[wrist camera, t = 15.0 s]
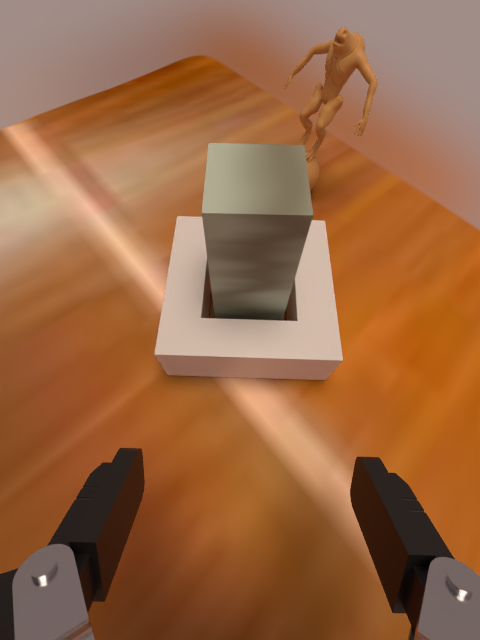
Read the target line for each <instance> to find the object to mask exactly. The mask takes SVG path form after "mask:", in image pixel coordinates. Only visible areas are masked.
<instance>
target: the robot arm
mask: <svg viewBox="0 0 480 640" xmlns="http://www.w3.org/2000/svg"><path fill="white" fill-rule="evenodd" d="M143 492H144V468H143V455H142V450H141V449H139V448H120V449H119V450H118V452H117V454H116V455H115V457H114V459H113V461H112V463H104V462H103V463H102V464H101V465H100V466H99V467H98V468H96V469H95V470H94V471H93V472H92V473H91V474H90V476H89V477H88V479H87V481H86V482H85V484H84V486H83V489H81V491H80V492H79V494H78V496H77V498H76V500H75V501H74V502H73V504H72V506H71V507H70V509H69V511H68V512H67V514H66V516H65V517H64V519H63V521H62V522H61V524H60V526H59V527H58V529H57V531H56V532H55V534H54V536H53V537H52V539H51V541H50V542H49V544H48V545H47V546H46V547H44V548H41V549H40V550H38V551H36V552H35V553H33V554H32V555H31V556H29V557H28V558H27V559H26V560H25V561H24V562H23V563H22V565H21V566H20V567H19V568H18V569H15V570H12V571H9V572H6V573H2V574H0V640H95V639H94V635H93V631H92V627H91V624H90V622H89V618H88V612H89V609H90V607H91V604H92V601H99V602H105V599H106V597H107V594H108V591H109V588H110V586H111V583H112V580H113V577H114V575H115V572H116V569H117V566H118V563H119V561H120V558H121V555H122V552H123V550H124V547H125V544H126V541H127V539H128V536H129V533H130V530H131V528H132V525H133V522H134V519H135V517H136V514H137V511H138V508H139V506H140V503H141V500H142V497H143ZM350 496H351V503H352V507H353V510H354V512H355V515H356V518H357V520H358V523H359V526H360V528H361V531H362V533H363V536H364V539H365V541H366V544H367V547H368V549H369V552H370V555H371V557H372V560H373V562H374V565H375V568H376V570H377V573H378V576H379V578H380V581H381V583H382V586H383V589H384V591H385V594H386V597H387V599H388V602H389V605H390V607H391V610H392V612H393V613H406V614H407V616H408V619H409V621H410V623H411V628H410V631H409V635H408V640H480V577H479V576H478V575H477V574H476V573H475V572H474V571H473V570H472V569H470V568H469V567H467V566H466V565H464V564H463V563H461V562H459V561H457V560H455V559H454V557H453V556H452V554H451V553H450V551H449V549H448V548H447V546H446V545H445V543H444V541H443V540H442V538H441V537H440V535H439V533H438V532H437V530H436V529H435V527H434V525H433V524H432V522H431V521H430V519H429V517H428V516H427V514H426V513H424V509H423V508H422V506H421V504H420V503H419V501H417V498H416V496H415V495H414V493H413V492H412V490H411V488H410V487H409V485H408V484H407V483H406V482H405V481H403V480H402V479H401V478H400V477H399V476H398V475H397V474H396V473H388V471H387V469H386V468H385V466H384V464H383V462H382V461H381V459H380V458H378V457H357V458H356V461H355V466H354V472H353V477H352V483H351V489H350Z"/></svg>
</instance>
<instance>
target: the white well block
mask: <svg viewBox="0 0 480 640" xmlns="http://www.w3.org/2000/svg"><path fill="white" fill-rule="evenodd" d="M210 295H211V283H210V275H209V267H208V259H207V251H206V243H205V235H204V227H203V219H202V217H186V216H177V222H176V228H175V234H174V240H173V246H172V252H171V258H170V264H169V270H168V276H167V282H166V288H165V294H164V300H163V306H162V312H161V318H160V324H159V330H158V336H157V342H156V348H155V356H156V358H157V359H158V361H159V362H160V364H161V365H162V367H163V369H164V370H165V372H166V373H167V375H176V376H207V377H238V378H269V379H300V380H326V379H327V378H328V377H329V376H330V375H331V373H332V372H333V371H334V370H335V369H336V368H337V367H338V365H339V364H340V363H341V362H342V361H343V358H342V350H341V342H340V334H339V327H338V319H337V311H336V303H335V296H334V288H333V280H332V272H331V265H330V257H329V249H328V241H327V234H326V226H325V221H316V220H312V221H311V225H310V228H309V231H308V235H307V238H306V242H305V245H304V249H303V252H302V255H301V259H300V262H299V266H298V269H297V273H296V276H295V279H294V283H293V286H292V290H291V293H290V297H289V300H288V303H287V307H286V311H287V321H280V320H248V319H216V318H209V307H210Z"/></svg>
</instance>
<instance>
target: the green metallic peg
mask: <svg viewBox="0 0 480 640" xmlns="http://www.w3.org/2000/svg"><path fill="white" fill-rule="evenodd" d="M312 218H313V210H312V202H311V194H310V186H309V178H308V170H307V162H306V154H305V146H304V145H273V144H229V143H209V145H208V155H207V165H206V175H205V185H204V195H203V205H202V219H203V227H204V235H205V243H206V251H207V259H208V267H209V275H210V283H211V291H212V299H213V307H214V315H215V318H216V319H248V320H280V321H283V317H284V314H285V310H286V307H287V303H288V300H289V297H290V293H291V290H292V286H293V283H294V279H295V276H296V273H297V269H298V266H299V262H300V259H301V255H302V252H303V249H304V245H305V242H306V238H307V235H308V231H309V228H310V225H311V221H312Z"/></svg>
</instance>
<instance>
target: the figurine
mask: <svg viewBox="0 0 480 640" xmlns="http://www.w3.org/2000/svg"><path fill="white" fill-rule="evenodd" d="M364 50H365V43H364V39H363V38H362V36H361V35H360V34H358V33H350V32H349V30H348V29H347V28H346V27H341V28H340V30H339V31H338V32H337V33H336V36H335V39H333V40H331V41H329V42H326V43H321V44H318V45H316V46H314V47H312V48H311V49H310V51H309V52H308V54H307V55H306V56H305V58H304V59H303V60H302V61H301V62H300V63H299V64H298V65H297V66H296V67H295V69H294V70H293V71H292V73H291V74H290V76H289V78H288V80H287V82H286V84H285V87H284V88H286V87H287V85H288V83H289V82H290V80H291V78H292V77H293V76H294V75H295V74H297V73H298V72H299V71H300V70H301V69H302V68H303V67H304V66H305V65H306V64H307V63H308V62H309V61H310V59H311V58H312V56H313V55H314V54H325V53H328V55H327V59H326V65H325V69H326V74H325V78H326V80H325V84H324V88H323V86H322V84H321V83H318V84H317V85H316V87H315V90H314V92H313V95H312V97H311V99H310V100H309V102H308V103H307V105H306V106H305V108H304V109H303V111H302V112H301V113H300V121H301V123H302V124H303V127H304V128H305V129H306V132H305V134H304V136H303V137H302V139H301V141H300V142H299V144H298V145H305V143H306V141H307V139H308V138H309V136H310V134H311V129H312V122H311V120H309V119H308V118H309V117H310V115H312V114H315V113H316V112H317V111H318V109H319V108H320V106H321V104H322V101H323V104H325V105H324V106H323V107H322V109H321V110H320V113H319V119H318V121H317V124H316V133H317V137H318V140H317V141H316V143H315V144H314V146H313V147H312V149H311V150H310V151H307V150H305V154H306V162H307V170H308V178H309V186H310V191H311V190H312V189H313V188H314V186H315V185H316V183H317V181H318V178H319V164H318V161H317V159H316V158H315V156H314V155H315V153H316V152H317V150H318V148H319V147H320V145H321V143H322V141H323V139H324V138H325V136H326V131H325V130H324V128H325V127H326V126H327V125H328V124H329V123H330V122H331V121H332V119H333V117H334V116H335V114H336V113H337V111H338V110H339V109H340V108H341V106H342V104H343V98H342V96H340V95H338V94H339V92H340V91H341V89H342V87H343V85H344V84H345V83H346V82H347V80H348V79H349V77H350V76H351V74H352V73H353V71H354V70H355V69H356V68H357V69H358V70H359V71H360V73H361V74H362V75H363V77H364V79H365V80H366V81H367V83H368V84H369V89H368V93H367V98H366V101H365V105H364V110H363V119H362V120H361V121H359V122H358V123H357V124H356V125H355V126H357V125H359V127H358V129H357V131H356V132H355V134H356V133H357V132H358V130H359V129H360V131H359V133H358V135H357V136H359V134H360V132H361V131H362V133H363V131H364V129H365V127H366V123H367V120H368V115H369V112H370V109H371V104H372V100H373V96H374V94H375V91H376V87H377V79H376V77H375V74H374V73H373V71H372V69H371V67H370V65H369V63H368V60H367V57H366V55H365V53H364ZM362 133H361V135H362Z"/></svg>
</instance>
